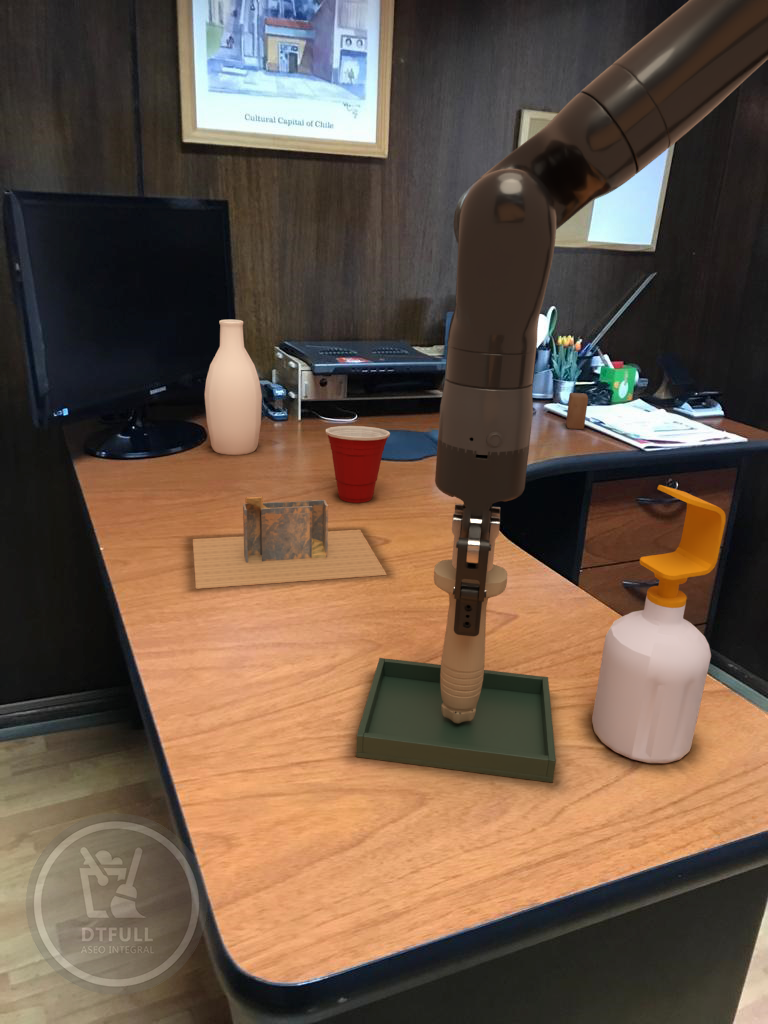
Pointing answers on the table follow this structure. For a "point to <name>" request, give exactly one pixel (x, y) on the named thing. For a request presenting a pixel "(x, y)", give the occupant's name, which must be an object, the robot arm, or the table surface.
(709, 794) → the table surface
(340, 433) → the plastic cup
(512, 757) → the brush tray
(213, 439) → the bottle
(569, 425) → the wooden block
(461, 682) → the handle
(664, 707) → the soap bottle
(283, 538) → the ruin model on sheet
